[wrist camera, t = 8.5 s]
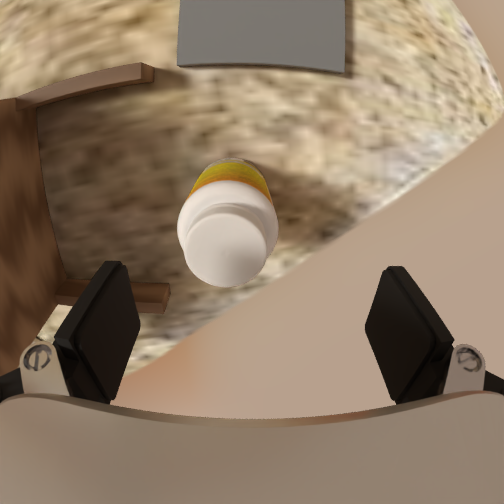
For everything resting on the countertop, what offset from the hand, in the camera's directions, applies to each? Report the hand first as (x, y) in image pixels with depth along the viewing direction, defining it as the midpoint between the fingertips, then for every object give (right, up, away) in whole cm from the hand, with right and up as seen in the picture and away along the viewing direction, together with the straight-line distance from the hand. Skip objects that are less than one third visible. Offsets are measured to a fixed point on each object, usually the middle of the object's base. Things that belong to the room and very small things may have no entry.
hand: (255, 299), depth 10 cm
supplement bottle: (-2, +7, +12) cm, 14 cm away
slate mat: (+1, +20, +5) cm, 21 cm away
